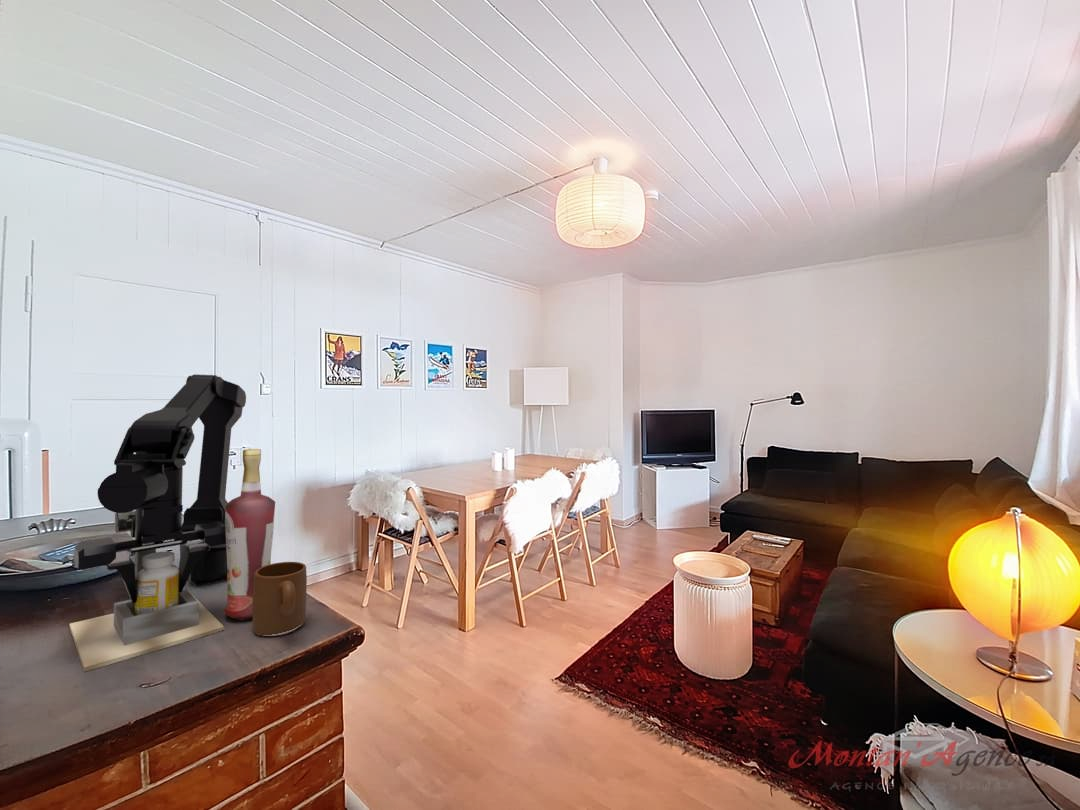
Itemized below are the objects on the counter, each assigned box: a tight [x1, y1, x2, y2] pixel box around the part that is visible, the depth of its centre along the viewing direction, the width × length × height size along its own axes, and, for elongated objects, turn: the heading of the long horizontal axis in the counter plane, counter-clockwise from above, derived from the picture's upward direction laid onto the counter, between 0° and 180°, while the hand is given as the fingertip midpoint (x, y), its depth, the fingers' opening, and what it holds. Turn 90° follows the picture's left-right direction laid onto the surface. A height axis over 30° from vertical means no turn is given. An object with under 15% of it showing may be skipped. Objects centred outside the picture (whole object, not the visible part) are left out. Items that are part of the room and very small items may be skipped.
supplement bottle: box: [135, 551, 179, 616], centre depth 75 cm, size 5×5×10 cm
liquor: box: [223, 448, 276, 621], centre depth 81 cm, size 7×7×28 cm
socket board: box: [69, 549, 225, 673], centre depth 75 cm, size 16×18×11 cm
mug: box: [252, 561, 308, 636], centre depth 75 cm, size 12×8×9 cm, turn 37°
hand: (157, 596), depth 75 cm, fingers closed on supplement bottle, 5 cm apart
